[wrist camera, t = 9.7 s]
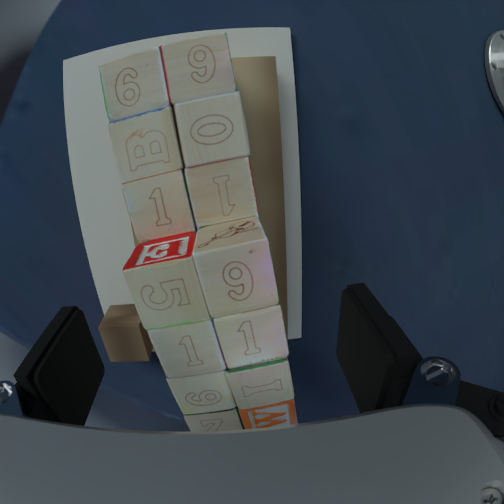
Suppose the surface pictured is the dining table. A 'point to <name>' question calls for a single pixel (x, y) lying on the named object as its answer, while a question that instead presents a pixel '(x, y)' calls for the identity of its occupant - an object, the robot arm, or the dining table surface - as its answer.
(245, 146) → the stack of blocks
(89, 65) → the cream tile
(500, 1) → the dining table surface
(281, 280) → the oak plinth
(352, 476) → the robot arm
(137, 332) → the walnut cube
